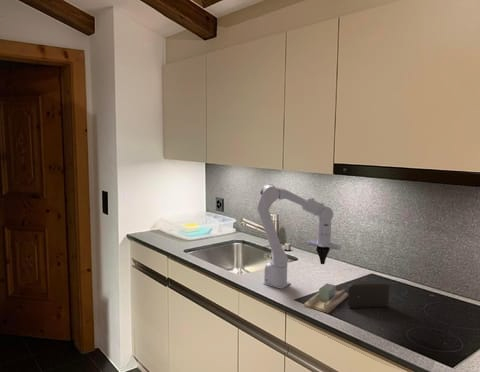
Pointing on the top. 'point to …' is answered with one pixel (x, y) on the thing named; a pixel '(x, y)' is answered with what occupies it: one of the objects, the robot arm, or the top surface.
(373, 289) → the leaning round-cornered charcoal block
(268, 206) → the robot arm
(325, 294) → the module
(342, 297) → the rail board
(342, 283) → the top surface
